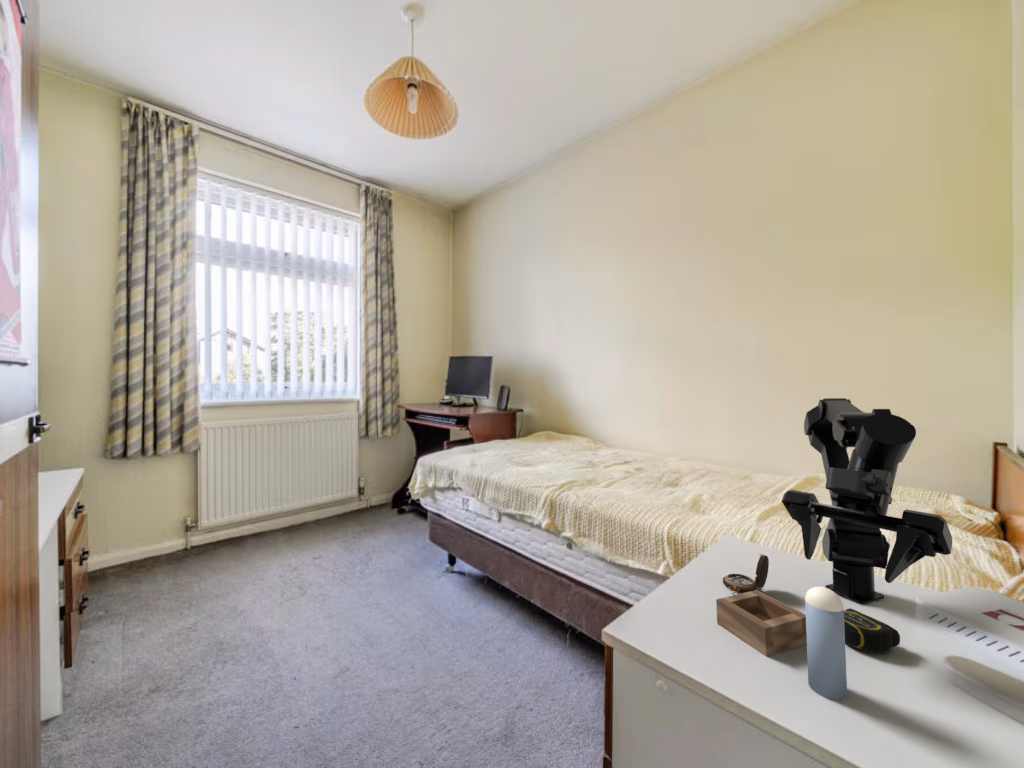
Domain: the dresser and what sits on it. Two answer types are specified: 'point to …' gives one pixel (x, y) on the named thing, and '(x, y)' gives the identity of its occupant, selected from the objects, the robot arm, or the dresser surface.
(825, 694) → the dome-topped blue cylinder
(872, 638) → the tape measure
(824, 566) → the dresser surface
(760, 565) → the compass
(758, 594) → the open wooden box
